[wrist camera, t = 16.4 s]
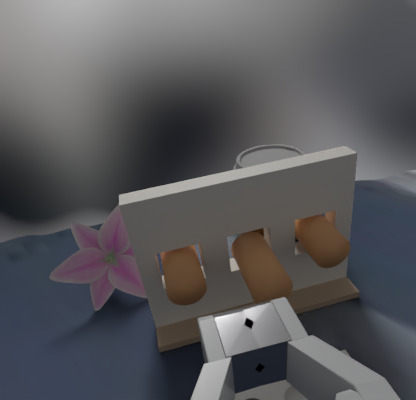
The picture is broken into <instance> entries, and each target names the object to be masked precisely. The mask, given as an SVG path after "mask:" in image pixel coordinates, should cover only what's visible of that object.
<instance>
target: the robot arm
mask: <svg viewBox="0 0 416 400" xmlns="http://www.w3.org/2000/svg"><path fill="white" fill-rule="evenodd" d="M197 322H198V328H199V334H200V341H201V346H202V351H203V357H204V361H205V364H203V367H202V370H201V373H200V375H199V378H198V381H197V383H196V386H195V389H194V392H193V394H192V397H191V400H234V399H235V394H236V393H240V392H243V391H246V390H249V389H252V388H256V387H259V386H262V385H266V384H270V383H274V382H278V381H282V380H286V381H287V382H288V383H289V384H290V385H292V386H293V387H294V388H295V389H296V390H297V391H299V392H300V393H301V394H302V395H303V396H304V397H305V398H307V399H308V400H400V398H399V397H398V396H397V394H396V393H395V391H394V390H393V389H392V387H391V386H390V384H389V383H388V382H387V380H386V379H385V378H384V377H382V376H381V375H379V374H377V373H376V372H374V371H372V370H371V369H369V368H367V367H366V366H364V365H362V364H361V363H359V362H357V361H356V360H354V359H352V358H351V357H349V356H347V355H346V354H344V353H342V352H341V351H339V350H337V349H336V348H334V347H332V346H331V345H329V344H327V343H326V342H324V341H322V340H320V339H319V338H317V337H315V336H314V335H311V336H308V334H307V332H306V331H305V329H304V327H303V326H302V324H301V322H300V320H299V319H298V317H297V315H296V314H295V312H294V310H293V308H292V307H291V305H290V303H289V302H288V300H287V299H286V298H285V297H282V298H278V299H274V300H270V301H265V302H261V303H258V304H254V305H250V306H246V307H242V308H240V309H235V310H231V311H226V312H222V313H217V314H213V315H209V316H204V317H200V318H197Z"/></svg>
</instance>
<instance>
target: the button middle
mask: <svg viewBox="0 0 416 400" xmlns="http://www.w3.org/2000/svg"><path fill="white" fill-rule="evenodd" d="M231 251H232V255H233V257H234V259H235V261H236V263H237V265H238V267H239V270H240V272H241V274H242V276H243V278H244V280H245V282H246V285H247V287H248V289H249V291H250V293H251V295H252V298H253V300H254V301H255V303H256V304H258V303H261V302H265V301H270V300H274V299H278V298H282V297H285V298H286V299H287V298H288V297H289V295H290V294H291V292H292V289H293V283H292V281H291V279H290V277H289V276H288V274H287V273H286V271H285V270H284V268H283V266H282V265H281V263H280V262H279V260H278V259H277V257H276V256H275V254H274V253H273V251H272V249H271V248H270V246H269V245H268V243H267V242H266V240H265V239H264V237H263V236H262V235H261V234H260V233H257V232H246V233H243V234H241V235H240V236H238V237H237V238H236V239H235V241H234V242H233V244H232V247H231Z"/></svg>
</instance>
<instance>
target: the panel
mask: <svg viewBox="0 0 416 400" xmlns="http://www.w3.org/2000/svg"><path fill="white" fill-rule="evenodd" d="M356 162H357V153H356V152H355V151H353V150H351V149H350V148H348V147H346V146H342V147H338V148H334V149H329V150H324V151H319V152H315V153H310V154H306V155H301V156H296V157H292V158H287V159H283V160H278V161H273V162H269V163H264V164H259V165H255V166H250V167H246V168H241V169H236V170H232V171H228V172H223V173H218V174H213V175H209V176H205V177H200V178H195V179H190V180H186V181H181V182H177V183H172V184H168V185H163V186H158V187H154V188H149V189H144V190H140V191H135V192H130V193H126V194H121V195H119V207H120V210H121V214H122V217H123V220H124V224H125V227H126V230H127V233H128V237H129V240H130V243H131V247H132V250H133V253H134V257H135V260H136V263H137V266H138V270H139V273H140V276H141V280H142V283H143V286H144V289H145V293H146V296H147V299H148V303H149V306H150V309H151V312H152V316H153V319H154V322H155V326H156V331H157V340H158V348H159V351H160V352H164V351H167V350H171V349H174V348H178V347H182V346H185V345H189V344H192V343H196V342H200V334H199V328H198V322H197V318H200V317H204V316H209V315H213V314H217V313H222V312H226V311H231V310H235V309H240V308H242V307H246V306H250V305H254V304H256V303H255V301H254V300H253V298H252V295H251V293H250V291H249V289H248V287H247V285H246V282H245V280H244V278H243V276H242V274H241V272H240V270H239V267H238V265H237V263H236V261H235V259H234V258H231V259H229V252H228V244H227V237H228V236H232V235H236V234H241V233H245V232H249V231H253V230H257V229H261V228H263V229H264V239H265V240H266V242H267V243H268V245H269V246H270V248H271V249H272V251H273V253H274V254H275V256H276V257H277V259H278V260H279V262H280V263H281V265H282V266H283V268H284V270H285V271H286V273H287V274H288V276H289V277H290V279H291V281H292V283H293V289H292V292H291V294H290V295H289V297H288V298H287V300H288V302H289V303H290V305H291V307H292V308H293V310H294V312H295V314H300V313H303V312H307V311H311V310H314V309H318V308H321V307H325V306H329V305H332V304H336V303H339V302H343V301H346V300H350V299H354V298H357V297H359V291H358V290H357V288H356V287H355V286H354V285H353V284H352V283H351V281H350V280H349V279H348V278H347V277H346V274H347V263H348V256H347V257H346V259H345V260H344V261H343V262H341V263H340V264H339V265H337V266H335V267H332V268H322V267H320V266H318V265H317V264H316V262H315V261H314V260H313V259H312V257H311V256H310V255H309V253H308V252H307V251H306V250H305V248H304V247H303V246H302V245H301V243H300V242H295V220H298V219H303V218H307V217H311V216H315V215H319V214H323V213H325V218H326V219H327V220H328V221H329V222H330V223H331V224H332V225H333V226H334V227H335V228H336V229H337V230H338V231H339V232H340V233H341V234H342V235H343V236H344V237H345V238H346V239H347V240H348V241H350V229H351V218H352V207H353V196H354V185H355V174H356ZM195 244H199V249H200V255H201V260H202V266H201V268H202V272H203V275H204V278H205V281H206V284H207V290H206V293H205V295H204V296H203V297H202V298H201V299H200V300H199V301H198V302H196V303H194V304H191V305H177V304H174V303H173V302H171V301H170V300H169V298H168V296H167V291H166V285H165V279H164V275H163V276H162V275H161V271H160V268H159V264H158V260H157V256H156V254H158V253H162V252H166V251H170V250H174V249H179V248H183V247H187V246H191V245H195Z"/></svg>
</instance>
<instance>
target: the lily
mask: <svg viewBox="0 0 416 400" xmlns="http://www.w3.org/2000/svg"><path fill="white" fill-rule="evenodd" d="M70 227H71V230H72V233H73V236H74V238H75V240H76V243H77V245H78V246H79V248H80V250H79V251H78V252H76V253H74V254H73V255H72V256H70V257H69V258H68V259H66V260H65V261H64V262H63V263H61V264H60V265H59V266H58V267H57V268H56V269H54V271H53V272H52V273H51V274H50V277H49V278H50V279H51V280H53V281H57V282H65V283H90V291H91V298H92V303H93V307H94V309H95V310H96V311H97V310H100V308H101V307H102V306H103V305H104V304H105V303H106V301H107V300H108V298H109V297H110V296H111V294H112V293H113V291H114V289H115V288H117V289H119V290H121V291H123V292H126V293H129V294H132V295H135V296H139V297H142V298H147V296H146V293H145V289H144V286H143V283H142V280H141V276H140V273H139V270H138V266H137V263H136V260H135V257H134V253H133V250H132V247H131V243H130V240H129V237H128V233H127V230H126V227H125V224H124V220H123V217H122V214H121V210H120V207H119V205H118V206H117V207H116V208H115V209H114V210H113V211H112V213H111V214H110V215H109V216H108V218H107V219H106V220H105V222H104V223H103V225H102V226H101V228H100V230H99V231H98V230H95V229H93V228H91V227H88V226H85V225H82V224H78V223H71V225H70Z"/></svg>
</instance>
